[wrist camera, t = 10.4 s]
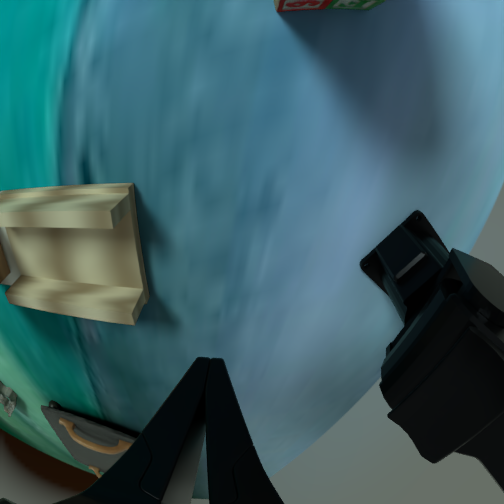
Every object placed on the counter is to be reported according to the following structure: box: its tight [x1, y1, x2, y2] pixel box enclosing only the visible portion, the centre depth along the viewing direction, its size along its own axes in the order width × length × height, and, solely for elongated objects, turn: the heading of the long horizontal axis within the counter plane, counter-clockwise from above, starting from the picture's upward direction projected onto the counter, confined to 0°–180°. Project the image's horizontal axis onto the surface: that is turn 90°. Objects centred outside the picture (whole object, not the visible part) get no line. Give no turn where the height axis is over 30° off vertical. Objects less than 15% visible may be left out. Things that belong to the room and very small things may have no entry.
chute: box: [0, 183, 150, 325], centre depth 20 cm, size 22×10×4 cm, turn 87°
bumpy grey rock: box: [0, 381, 17, 417], centre depth 39 cm, size 11×8×4 cm
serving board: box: [41, 400, 137, 478], centre depth 45 cm, size 39×23×6 cm, turn 164°
